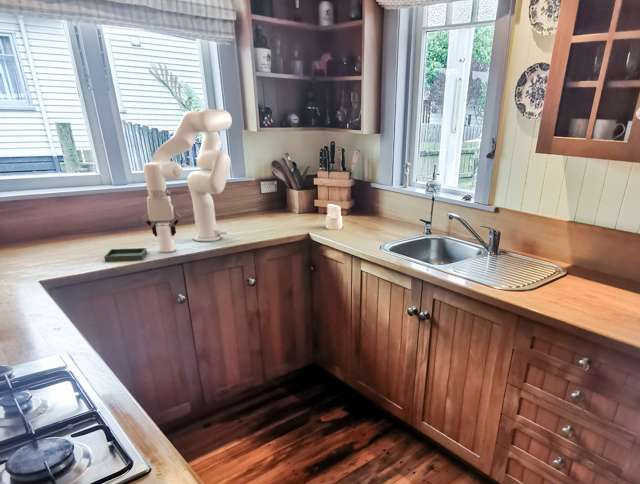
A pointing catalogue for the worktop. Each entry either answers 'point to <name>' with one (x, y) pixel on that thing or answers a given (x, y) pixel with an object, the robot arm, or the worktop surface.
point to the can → (165, 237)
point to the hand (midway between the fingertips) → (164, 235)
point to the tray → (125, 254)
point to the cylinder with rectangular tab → (333, 217)
